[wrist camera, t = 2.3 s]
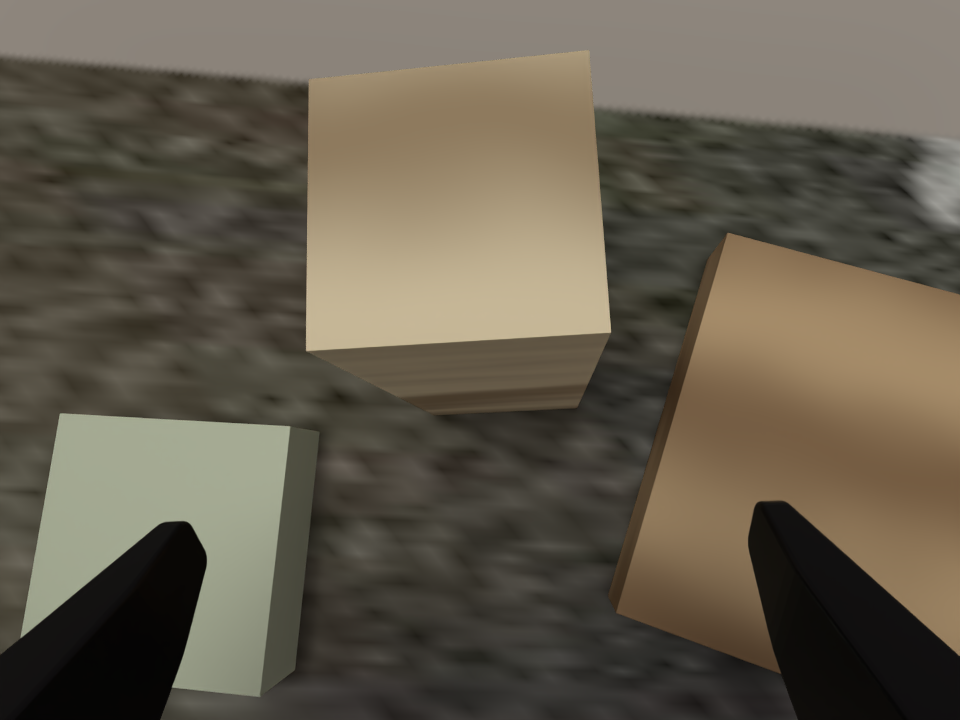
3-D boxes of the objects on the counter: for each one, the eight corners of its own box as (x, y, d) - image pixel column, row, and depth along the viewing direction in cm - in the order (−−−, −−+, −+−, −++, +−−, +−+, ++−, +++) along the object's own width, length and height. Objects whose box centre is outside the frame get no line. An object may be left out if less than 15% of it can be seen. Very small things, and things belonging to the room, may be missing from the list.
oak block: (988, 733, 19) (1069, 780, 16) (606, 593, 21) (616, 612, 18) (1066, 363, 21) (1151, 346, 18) (704, 263, 23) (727, 232, 20)
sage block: (299, 666, 22) (259, 697, 19) (84, 644, 22) (14, 670, 20) (323, 432, 23) (290, 426, 20) (120, 420, 24) (60, 413, 21)
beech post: (577, 408, 22) (610, 332, 10) (434, 415, 22) (305, 350, 10) (567, 269, 23) (588, 50, 11) (430, 279, 23) (308, 79, 11)
